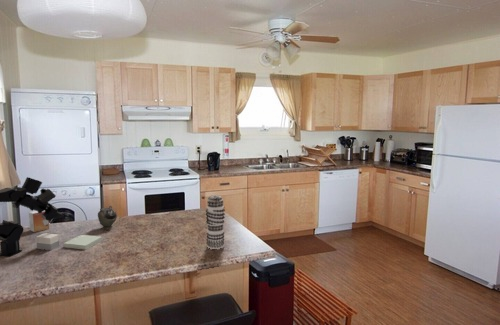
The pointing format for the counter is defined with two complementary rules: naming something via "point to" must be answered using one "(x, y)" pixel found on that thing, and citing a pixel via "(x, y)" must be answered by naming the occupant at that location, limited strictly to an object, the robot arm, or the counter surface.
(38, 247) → the block
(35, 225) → the small box
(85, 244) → the stand
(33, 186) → the robot arm
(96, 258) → the counter surface
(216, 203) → the tower model
